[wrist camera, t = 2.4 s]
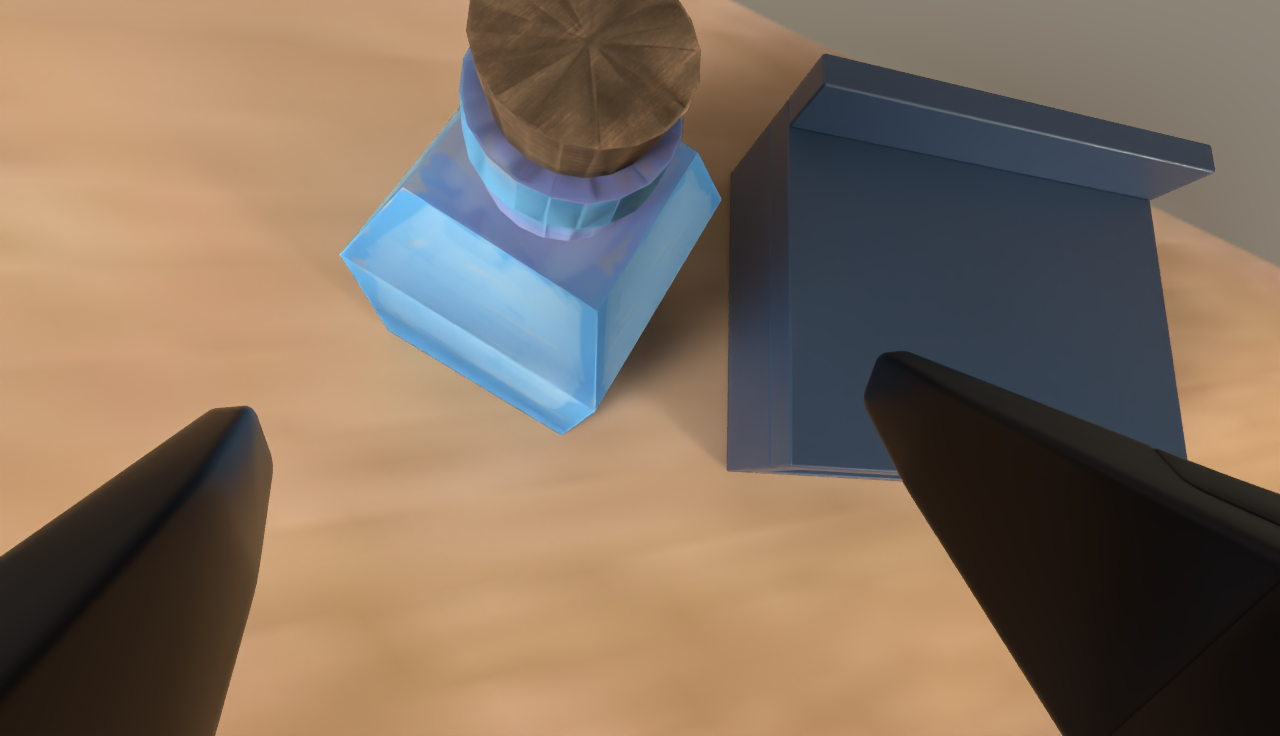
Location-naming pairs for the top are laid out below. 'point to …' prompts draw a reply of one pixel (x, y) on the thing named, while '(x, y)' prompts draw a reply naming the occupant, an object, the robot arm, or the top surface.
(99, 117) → the top surface
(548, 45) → the perfume bottle
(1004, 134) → the riser shelf
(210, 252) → the top surface
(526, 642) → the top surface
